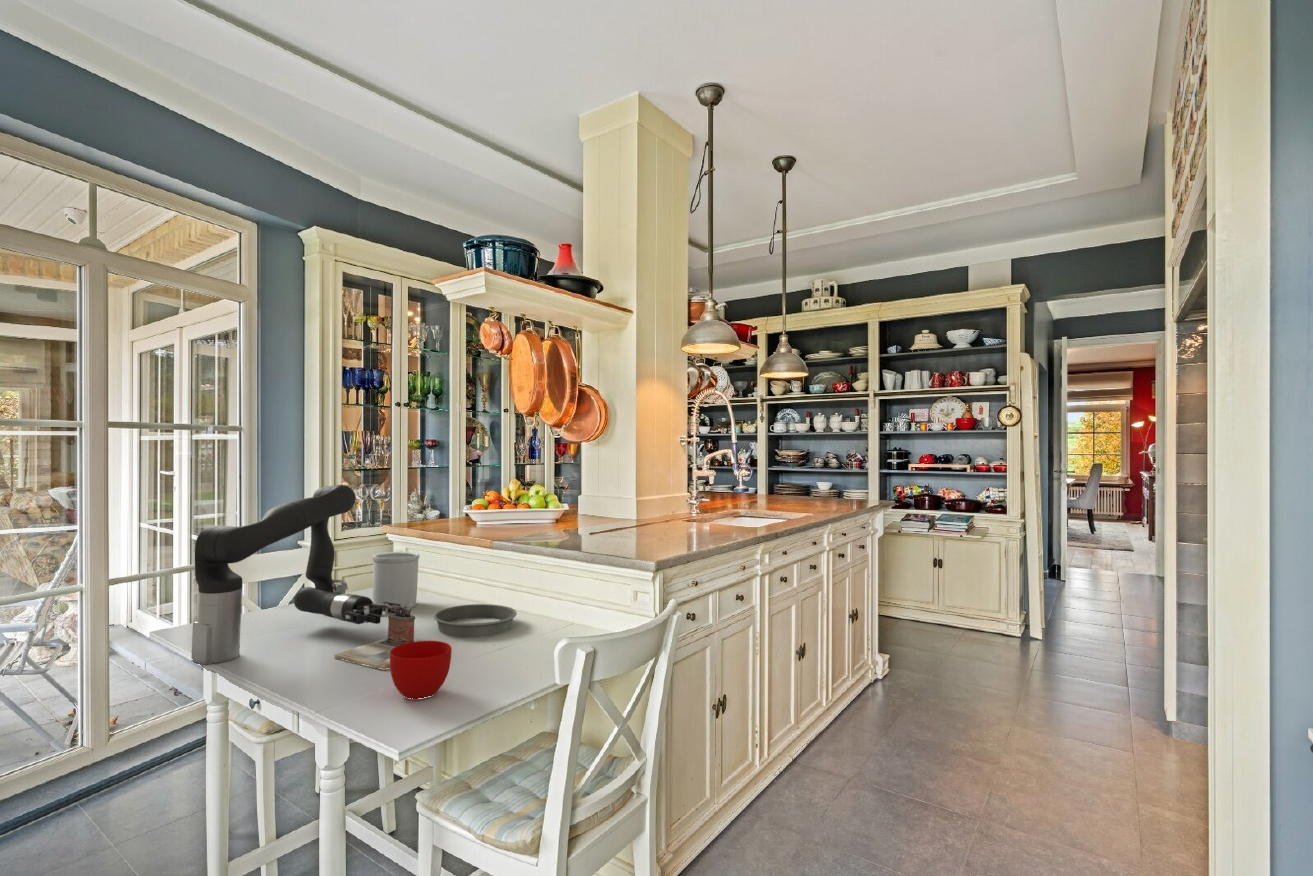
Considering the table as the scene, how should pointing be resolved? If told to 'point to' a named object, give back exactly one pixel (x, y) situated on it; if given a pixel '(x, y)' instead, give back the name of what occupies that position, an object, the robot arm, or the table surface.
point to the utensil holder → (395, 578)
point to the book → (370, 654)
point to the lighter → (400, 626)
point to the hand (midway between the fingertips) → (392, 616)
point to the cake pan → (474, 611)
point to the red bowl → (420, 667)
